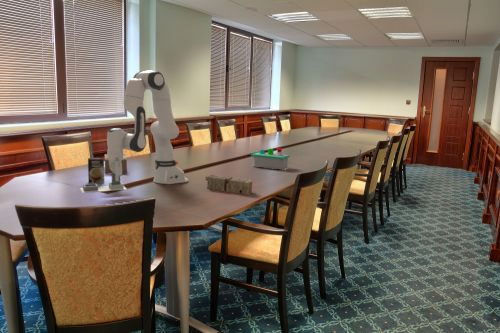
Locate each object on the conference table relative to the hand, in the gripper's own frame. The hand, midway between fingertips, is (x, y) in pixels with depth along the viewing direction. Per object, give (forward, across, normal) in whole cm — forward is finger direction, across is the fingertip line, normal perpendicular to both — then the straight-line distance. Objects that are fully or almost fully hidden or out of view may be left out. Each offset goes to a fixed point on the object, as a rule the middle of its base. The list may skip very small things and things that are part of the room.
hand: (116, 180), depth 240 cm
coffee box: (+6, +20, +8) cm, 22 cm away
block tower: (+7, -22, -62) cm, 67 cm away
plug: (+4, 0, 0) cm, 4 cm away
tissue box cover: (+7, +63, -11) cm, 64 cm away
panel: (+6, 0, +7) cm, 9 cm away
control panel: (+7, +38, -127) cm, 133 cm away
